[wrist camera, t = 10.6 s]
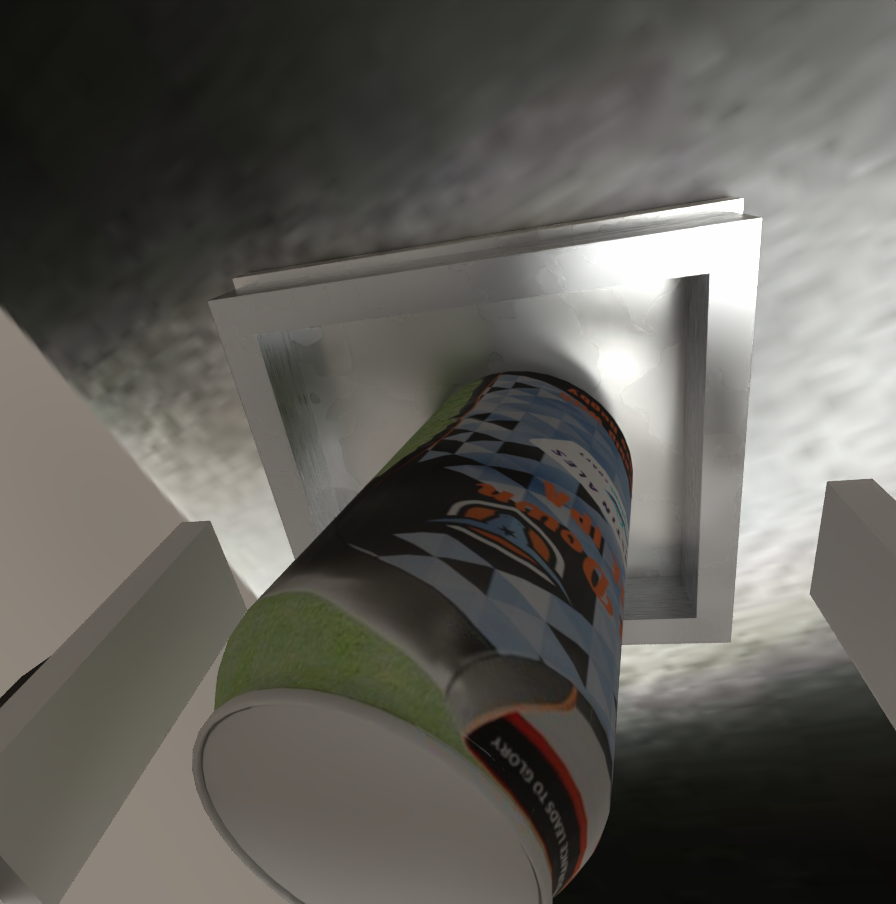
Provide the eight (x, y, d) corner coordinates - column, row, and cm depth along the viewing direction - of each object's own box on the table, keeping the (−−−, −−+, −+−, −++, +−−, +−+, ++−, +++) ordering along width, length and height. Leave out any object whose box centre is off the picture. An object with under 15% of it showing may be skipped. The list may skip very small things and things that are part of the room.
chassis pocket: (247, 272, 17) (173, 300, 13) (730, 196, 14) (795, 205, 11) (345, 598, 22) (311, 680, 19) (710, 583, 20) (750, 674, 16)
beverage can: (630, 533, 18) (750, 1066, 7) (406, 544, 19) (230, 992, 9) (621, 337, 15) (788, 707, 5) (365, 369, 17) (43, 698, 6)
